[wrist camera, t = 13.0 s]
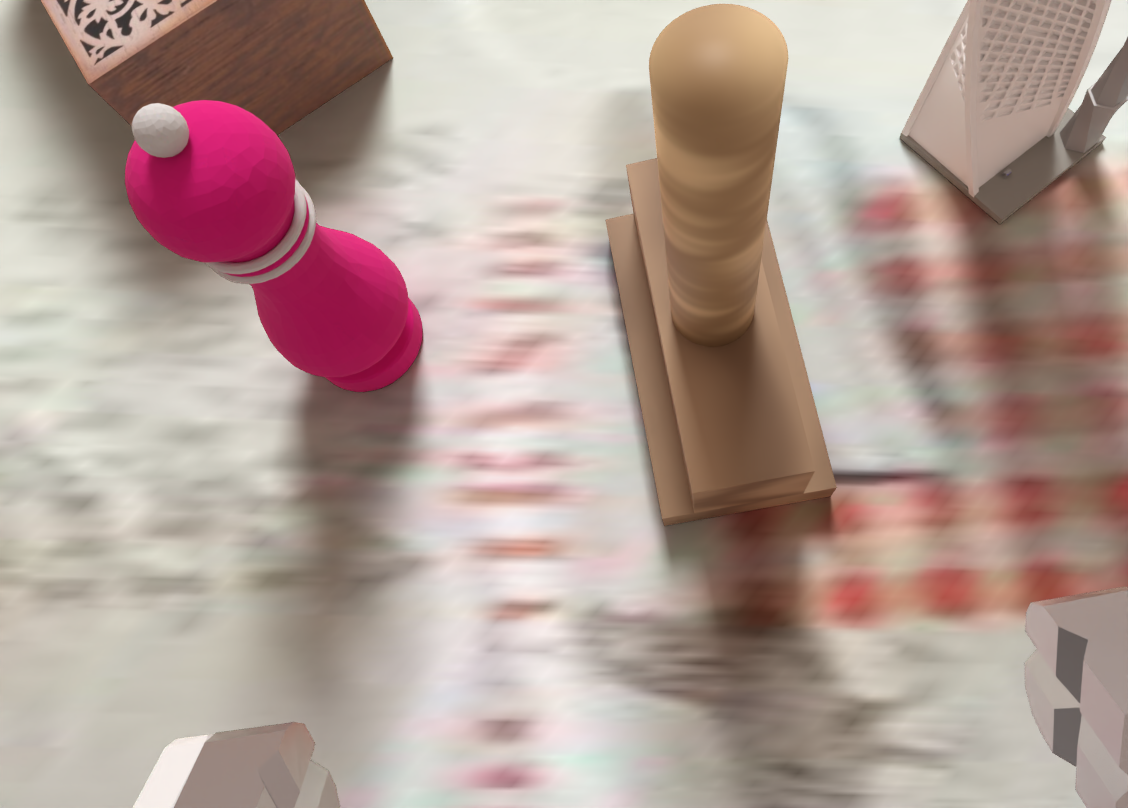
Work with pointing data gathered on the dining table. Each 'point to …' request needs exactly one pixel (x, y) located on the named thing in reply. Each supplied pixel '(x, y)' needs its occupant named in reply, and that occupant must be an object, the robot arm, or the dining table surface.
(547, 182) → the dining table surface
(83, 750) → the dining table surface
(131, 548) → the dining table surface
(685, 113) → the dowel
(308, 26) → the tissue box cover
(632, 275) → the stepped base
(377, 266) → the pepper mill
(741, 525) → the dining table surface
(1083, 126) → the skyscraper
